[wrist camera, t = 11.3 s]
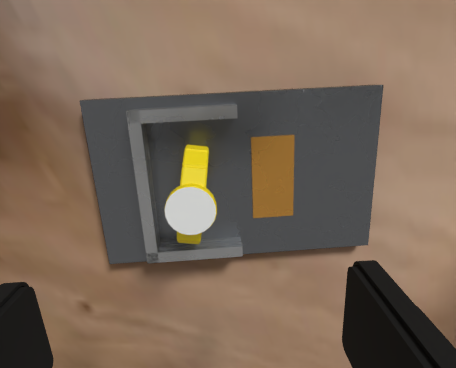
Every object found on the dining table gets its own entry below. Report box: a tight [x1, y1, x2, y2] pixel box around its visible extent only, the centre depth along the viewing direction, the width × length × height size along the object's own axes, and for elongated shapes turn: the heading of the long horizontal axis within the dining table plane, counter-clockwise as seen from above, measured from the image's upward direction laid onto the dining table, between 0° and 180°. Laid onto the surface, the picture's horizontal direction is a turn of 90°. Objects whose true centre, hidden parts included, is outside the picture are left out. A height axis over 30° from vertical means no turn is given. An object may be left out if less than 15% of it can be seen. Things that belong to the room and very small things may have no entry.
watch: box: [165, 145, 217, 244], centre depth 20 cm, size 6×3×6 cm, turn 174°
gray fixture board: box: [80, 85, 383, 264], centre depth 23 cm, size 20×12×3 cm, turn 93°
